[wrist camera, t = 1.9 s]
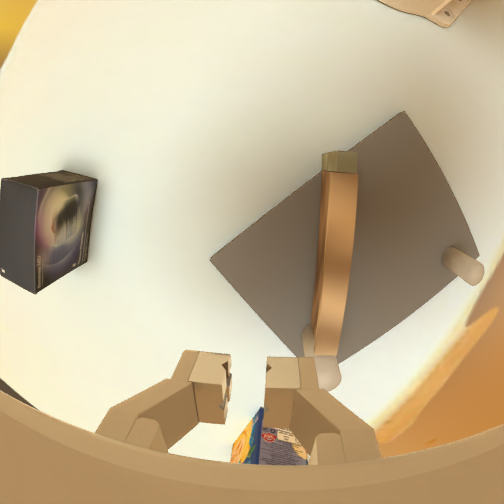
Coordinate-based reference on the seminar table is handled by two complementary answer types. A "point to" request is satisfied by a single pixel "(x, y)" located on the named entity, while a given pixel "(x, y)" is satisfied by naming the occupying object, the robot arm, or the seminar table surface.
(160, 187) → the seminar table surface
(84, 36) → the seminar table surface
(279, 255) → the grey board with posts
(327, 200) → the gate
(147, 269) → the seminar table surface
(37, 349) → the seminar table surface
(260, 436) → the beverage box
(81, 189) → the small box
